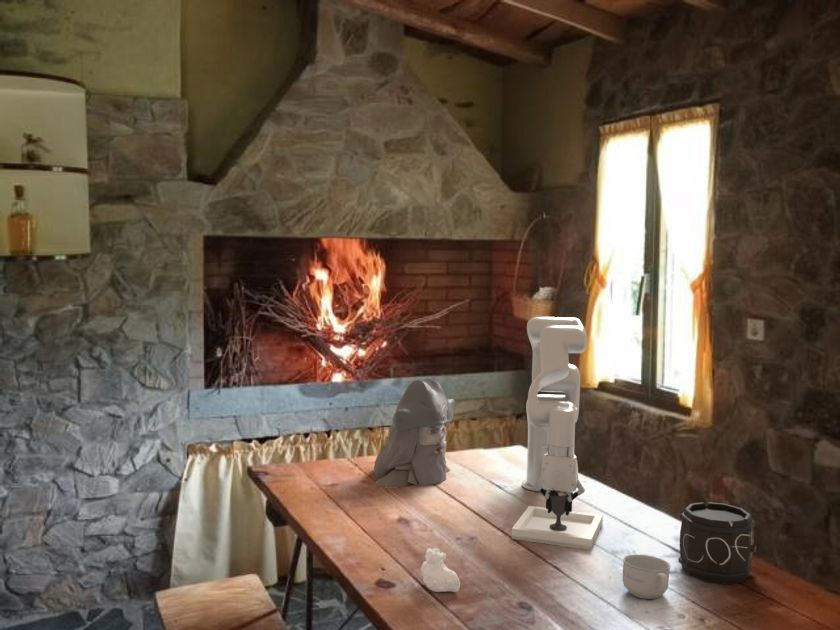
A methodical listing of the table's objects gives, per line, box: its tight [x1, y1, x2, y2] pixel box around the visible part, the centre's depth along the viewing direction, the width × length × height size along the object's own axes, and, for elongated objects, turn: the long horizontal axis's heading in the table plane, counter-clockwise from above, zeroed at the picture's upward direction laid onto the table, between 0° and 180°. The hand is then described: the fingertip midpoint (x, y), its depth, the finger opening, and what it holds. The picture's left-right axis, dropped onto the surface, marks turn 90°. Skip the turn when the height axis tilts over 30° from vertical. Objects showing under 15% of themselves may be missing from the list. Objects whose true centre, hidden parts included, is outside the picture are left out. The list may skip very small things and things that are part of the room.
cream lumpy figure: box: [419, 547, 461, 593], centre depth 198 cm, size 12×8×11 cm
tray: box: [511, 505, 604, 551], centre depth 240 cm, size 22×22×3 cm
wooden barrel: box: [678, 501, 758, 586], centre depth 211 cm, size 18×18×16 cm
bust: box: [373, 378, 456, 488], centre depth 292 cm, size 34×34×35 cm
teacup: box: [622, 554, 671, 600], centre depth 196 cm, size 14×11×8 cm
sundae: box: [548, 488, 569, 530], centre depth 239 cm, size 7×7×15 cm
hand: (558, 512), depth 240 cm, fingers closed on sundae, 4 cm apart
